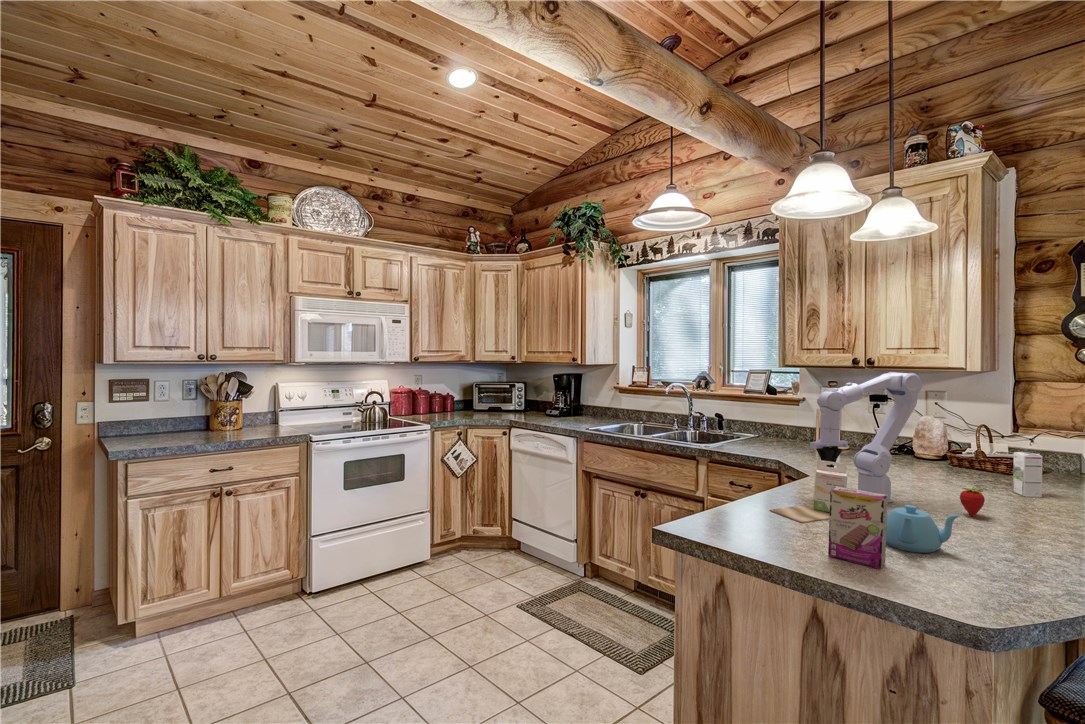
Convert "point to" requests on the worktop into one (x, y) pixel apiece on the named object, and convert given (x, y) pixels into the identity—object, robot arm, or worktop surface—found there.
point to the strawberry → (972, 500)
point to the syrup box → (1027, 474)
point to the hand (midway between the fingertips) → (828, 469)
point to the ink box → (827, 482)
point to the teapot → (916, 530)
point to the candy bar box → (858, 526)
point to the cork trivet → (802, 514)
